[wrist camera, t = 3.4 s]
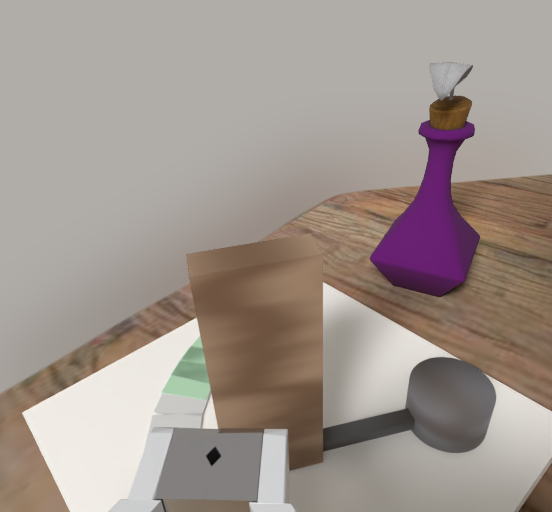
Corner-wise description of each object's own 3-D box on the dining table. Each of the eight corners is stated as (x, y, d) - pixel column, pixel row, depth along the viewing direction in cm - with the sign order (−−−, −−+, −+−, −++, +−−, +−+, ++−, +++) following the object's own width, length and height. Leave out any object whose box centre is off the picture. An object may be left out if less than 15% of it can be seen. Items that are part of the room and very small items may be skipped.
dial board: (294, 278, 41) (293, 262, 40) (566, 441, 26) (575, 421, 25) (30, 428, 29) (20, 410, 28) (257, 892, 14) (252, 886, 13)
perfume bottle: (392, 249, 45) (412, 50, 35) (474, 266, 41) (519, 52, 32) (366, 290, 39) (381, 69, 30) (457, 314, 36) (506, 74, 26)
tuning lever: (458, 381, 28) (502, 186, 21) (504, 442, 24) (576, 230, 18) (158, 451, 25) (95, 250, 18) (159, 532, 22) (81, 319, 15)
